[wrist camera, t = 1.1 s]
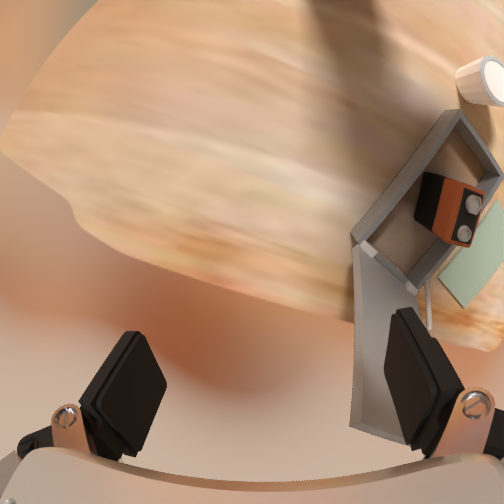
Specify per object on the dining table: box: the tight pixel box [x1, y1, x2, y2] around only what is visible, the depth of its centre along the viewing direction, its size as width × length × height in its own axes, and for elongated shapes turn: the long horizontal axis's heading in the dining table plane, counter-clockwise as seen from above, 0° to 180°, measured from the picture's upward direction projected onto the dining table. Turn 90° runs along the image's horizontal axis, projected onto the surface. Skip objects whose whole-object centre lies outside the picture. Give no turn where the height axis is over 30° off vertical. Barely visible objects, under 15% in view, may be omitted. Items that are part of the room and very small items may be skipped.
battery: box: [414, 171, 485, 248], centre depth 27 cm, size 4×7×10 cm, turn 173°
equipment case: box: [350, 109, 504, 331], centre depth 27 cm, size 23×12×11 cm, turn 144°
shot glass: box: [455, 55, 504, 107], centre depth 22 cm, size 7×7×7 cm
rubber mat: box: [437, 199, 504, 308], centre depth 34 cm, size 16×10×1 cm, turn 144°
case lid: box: [349, 244, 422, 446], centre depth 24 cm, size 21×12×1 cm
